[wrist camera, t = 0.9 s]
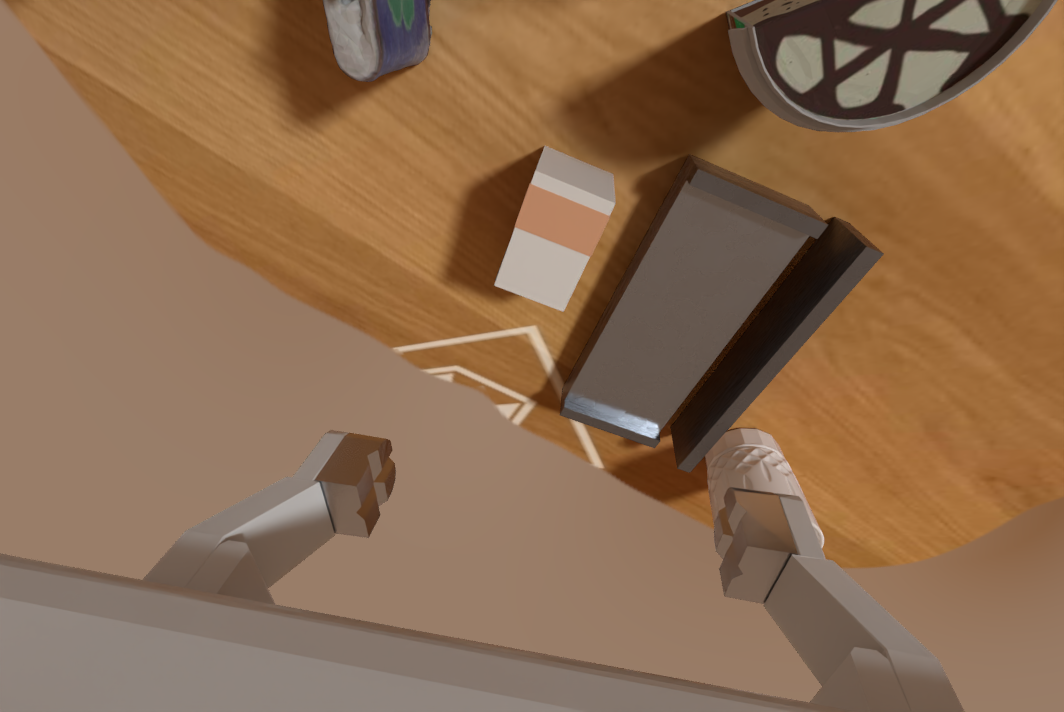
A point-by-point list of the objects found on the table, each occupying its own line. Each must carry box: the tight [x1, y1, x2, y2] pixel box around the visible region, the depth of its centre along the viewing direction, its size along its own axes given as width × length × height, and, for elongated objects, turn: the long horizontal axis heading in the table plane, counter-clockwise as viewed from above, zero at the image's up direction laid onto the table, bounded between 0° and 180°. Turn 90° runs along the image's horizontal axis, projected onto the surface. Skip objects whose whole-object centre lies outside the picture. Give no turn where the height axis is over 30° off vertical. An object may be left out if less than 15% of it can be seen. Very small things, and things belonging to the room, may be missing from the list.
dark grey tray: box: [560, 154, 883, 473], centre depth 37 cm, size 12×22×5 cm, turn 160°
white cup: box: [705, 428, 824, 548], centre depth 43 cm, size 8×8×10 cm
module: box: [494, 146, 615, 312], centre depth 33 cm, size 5×8×6 cm, turn 160°
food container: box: [726, 0, 1057, 132], centre depth 24 cm, size 12×6×10 cm, turn 110°
